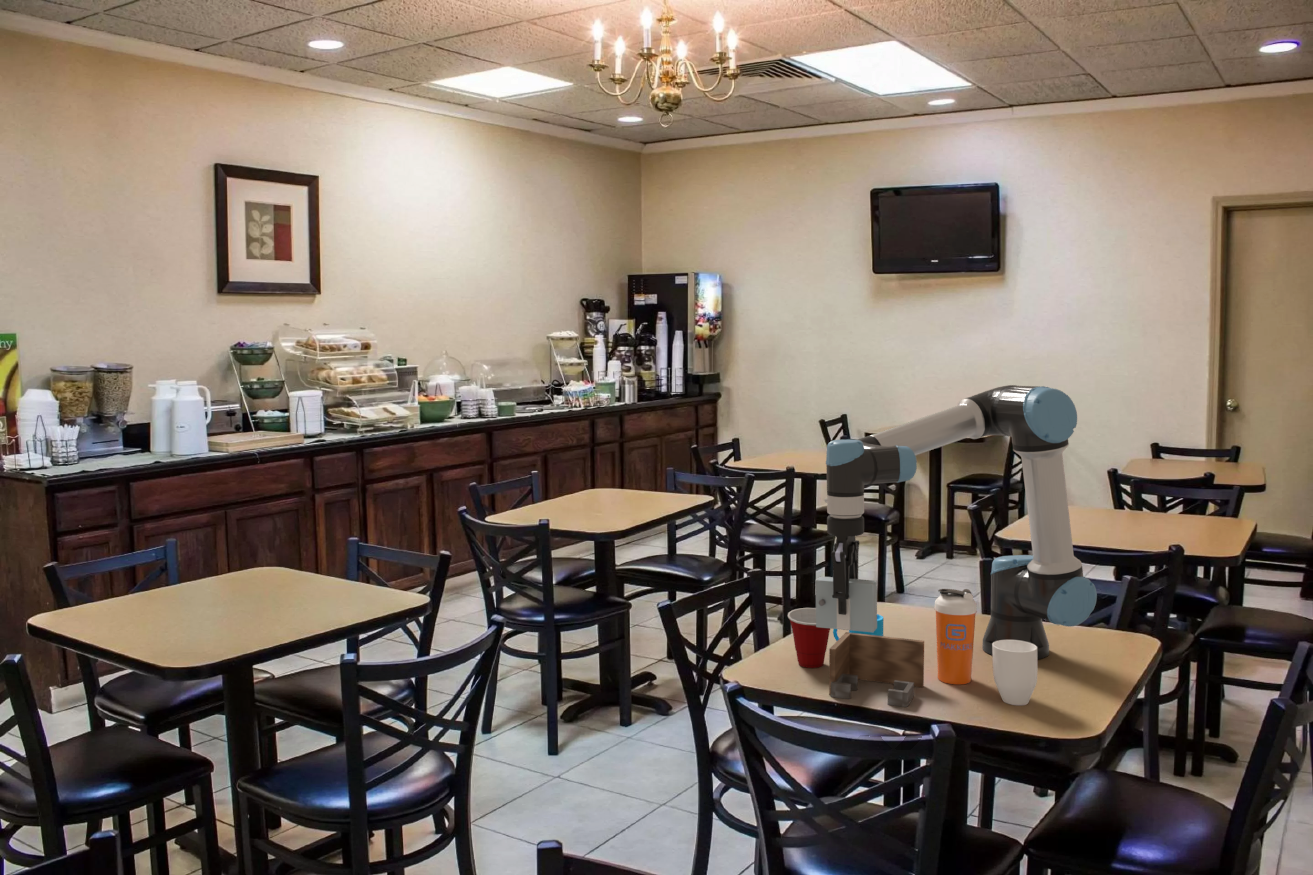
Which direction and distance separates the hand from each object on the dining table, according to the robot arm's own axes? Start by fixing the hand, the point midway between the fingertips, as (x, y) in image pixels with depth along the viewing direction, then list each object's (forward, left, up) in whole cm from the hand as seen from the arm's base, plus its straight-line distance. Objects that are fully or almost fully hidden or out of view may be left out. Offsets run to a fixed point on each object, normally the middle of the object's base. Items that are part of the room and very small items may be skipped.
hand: (846, 625), depth 220 cm
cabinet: (-5, -7, -16) cm, 18 cm away
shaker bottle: (-19, -21, -16) cm, 33 cm away
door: (0, 0, 0) cm, 0 cm away
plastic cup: (+13, -19, -16) cm, 28 cm away
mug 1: (+6, -35, -16) cm, 39 cm away
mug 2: (-32, -13, -16) cm, 38 cm away
